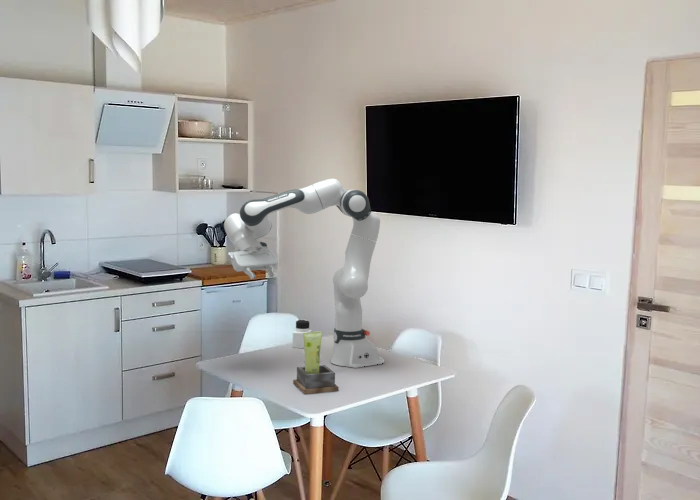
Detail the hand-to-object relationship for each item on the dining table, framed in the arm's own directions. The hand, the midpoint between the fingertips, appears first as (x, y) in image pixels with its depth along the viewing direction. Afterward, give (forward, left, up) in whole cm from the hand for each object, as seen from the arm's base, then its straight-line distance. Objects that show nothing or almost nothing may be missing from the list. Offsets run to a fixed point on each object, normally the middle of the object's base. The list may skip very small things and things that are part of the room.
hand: (263, 277), depth 263 cm
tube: (-12, +25, -36) cm, 46 cm away
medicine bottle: (-28, -33, -38) cm, 57 cm away
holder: (-14, +25, -37) cm, 47 cm away
